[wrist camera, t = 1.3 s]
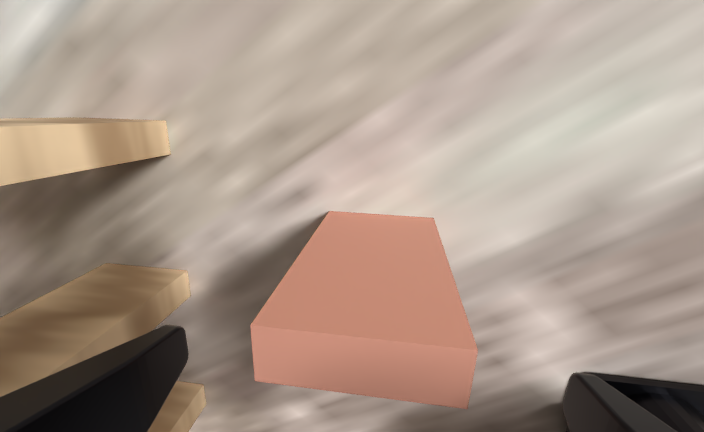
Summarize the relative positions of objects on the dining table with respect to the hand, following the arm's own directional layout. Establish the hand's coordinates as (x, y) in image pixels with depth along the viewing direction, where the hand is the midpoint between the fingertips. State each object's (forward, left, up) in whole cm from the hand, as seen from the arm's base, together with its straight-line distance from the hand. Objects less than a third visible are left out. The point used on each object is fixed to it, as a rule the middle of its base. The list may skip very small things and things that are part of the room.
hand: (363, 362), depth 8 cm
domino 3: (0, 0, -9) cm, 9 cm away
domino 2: (+13, +4, -9) cm, 16 cm away
